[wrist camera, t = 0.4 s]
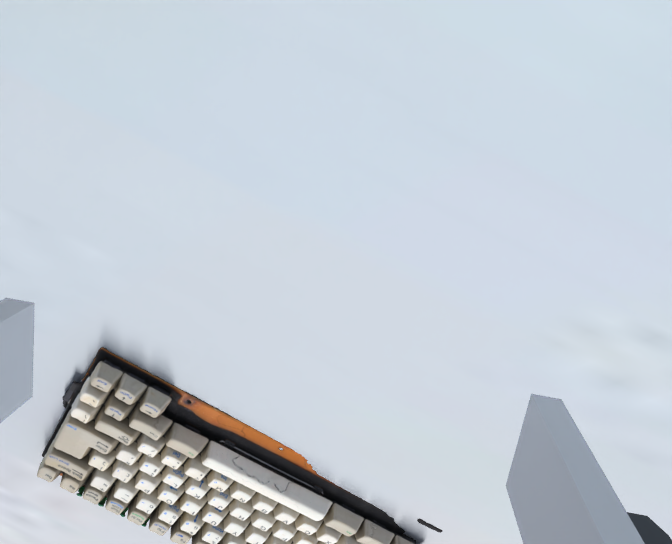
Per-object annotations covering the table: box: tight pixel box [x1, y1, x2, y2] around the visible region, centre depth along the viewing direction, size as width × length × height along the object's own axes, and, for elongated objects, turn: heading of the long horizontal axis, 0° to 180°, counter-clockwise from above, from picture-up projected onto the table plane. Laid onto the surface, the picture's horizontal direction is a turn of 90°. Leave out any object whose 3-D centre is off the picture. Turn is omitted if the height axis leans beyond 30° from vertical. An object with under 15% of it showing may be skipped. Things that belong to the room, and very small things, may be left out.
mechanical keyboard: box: [37, 347, 442, 544], centre depth 60 cm, size 38×19×3 cm, turn 58°
